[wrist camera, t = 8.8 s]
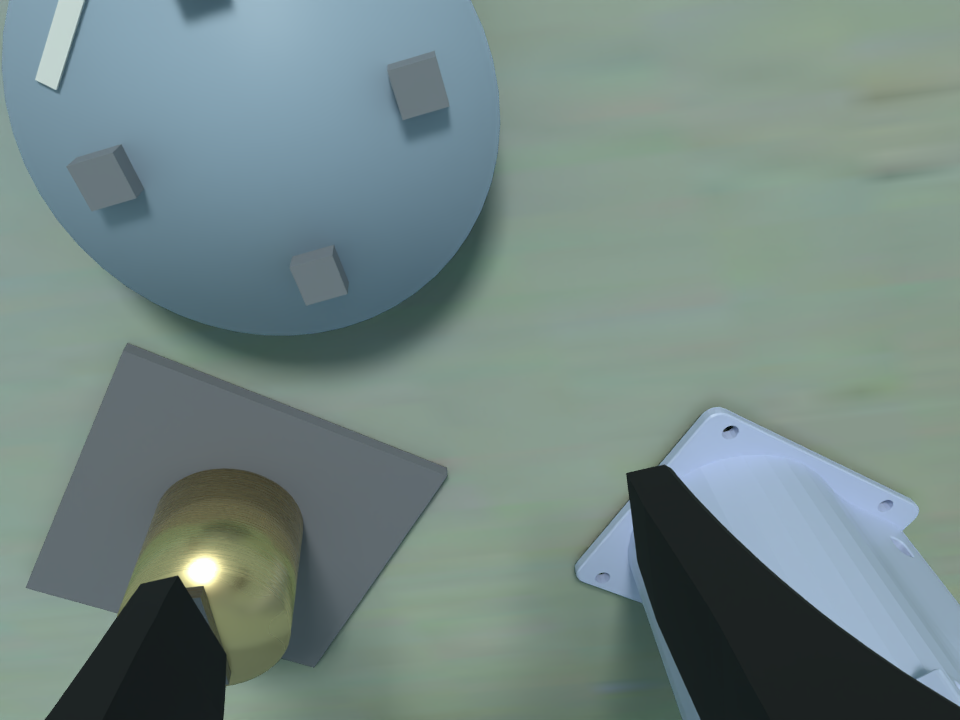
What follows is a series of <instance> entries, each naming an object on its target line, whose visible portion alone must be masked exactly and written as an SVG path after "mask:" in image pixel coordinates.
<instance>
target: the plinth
mask: <svg viewBox="0 0 960 720" xmlns="http://www.w3.org/2000/svg"><path fill="white" fill-rule="evenodd" d="M2 73H3V82H4V92H5V101H6V105H7V110H8V114H9V118H10V122H11V127H12V131H13V134H14V137H15V140H16V142H17V145H18V148H19V150H20V153H21V156H22V158H23V161H24V164H25V166H26V168H27V170H28V172H29V174H30V176H31V178H32V179H33V181H34V183H35V185H36V187H37V189H38V191H39V193H40V195H41V196H42V198H43V199H44V201H45V202H46V204H47V205H48V207H49V208H50V210H51V211H52V213H53V214H54V216H55V217H56V218H57V220H58V221H59V223H60V224H61V225H62V226H63V227H64V228H65V230H66V231H67V232H68V233H69V234H70V236H71V237H72V238H73V239H74V240H75V241H76V243H77V244H78V245H79V246H80V247H81V248H82V249H83V250H84V251H85V252H86V253H87V254H88V255H89V256H90V257H92V258H93V259H94V260H95V261H96V262H97V263H98V264H99V265H100V266H101V267H102V268H103V269H105V270H106V271H107V272H109V273H110V274H111V275H112V276H114V277H115V278H116V279H118V280H119V281H120V282H122V283H123V284H124V285H126V286H127V287H128V288H130V289H132V290H133V291H135V292H137V293H138V294H140V295H142V296H143V297H145V298H146V299H148V300H150V301H151V302H153V303H155V304H157V305H159V306H161V307H164V308H166V309H168V310H170V311H172V312H174V313H176V314H178V315H180V316H183V317H186V318H189V319H192V320H195V321H198V322H200V323H203V324H206V325H209V326H214V327H218V328H222V329H226V330H231V331H235V332H242V333H250V334H258V335H279V336H293V335H304V334H314V333H321V332H326V331H330V330H335V329H339V328H344V327H347V326H350V325H353V324H356V323H359V322H362V321H365V320H368V319H370V318H372V317H374V316H376V315H379V314H381V313H383V312H385V311H387V310H389V309H391V308H393V307H395V306H396V305H398V304H399V303H401V302H402V301H404V300H405V299H407V298H408V297H410V296H412V295H413V294H415V293H416V292H417V291H418V290H420V289H421V288H422V287H423V286H424V285H425V284H427V283H428V282H429V281H430V280H431V279H433V278H434V277H435V276H436V275H437V274H438V273H439V272H440V271H441V269H442V268H443V267H444V266H445V265H446V264H447V263H448V262H449V261H450V260H451V258H452V257H453V256H454V255H455V253H456V252H457V251H458V249H459V248H460V246H461V245H462V243H463V242H464V240H465V239H466V238H467V236H468V235H469V233H470V231H471V229H472V227H473V225H474V223H475V222H476V220H477V218H478V216H479V214H480V212H481V210H482V207H483V205H484V202H485V199H486V196H487V193H488V191H489V188H490V185H491V182H492V178H493V173H494V168H495V164H496V159H497V154H498V144H499V132H500V109H499V91H498V85H497V80H496V74H495V68H494V63H493V58H492V55H491V52H490V49H489V45H488V42H487V39H486V36H485V32H484V29H483V27H482V24H481V22H480V20H479V18H478V16H477V13H476V11H475V9H474V7H473V5H472V2H471V0H9V5H8V10H7V16H6V21H5V26H4V31H3V52H2Z"/></svg>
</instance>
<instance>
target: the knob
mask: <svg viewBox="0 0 960 720" xmlns="http://www.w3.org/2000/svg"><path fill="white" fill-rule="evenodd" d="M302 535H303V518H302V514H301V511H300V509H299V507H298V505H297V503H296V502H295V500H294V499H293V497H292V496H291V495H290V494H289V493H288V492H287V491H286V490H285V489H284V488H282V487H281V486H280V485H278V484H277V483H275V482H274V481H272V480H270V479H268V478H266V477H264V476H261V475H259V474H256V473H253V472H249V471H245V470H239V469H228V468H222V469H210V470H204V471H201V472H197V473H194V474H191V475H189V476H186V477H185V478H183V479H181V480H179V481H178V482H176V483H175V484H173V485H172V486H171V487H170V488H169V489H168V490H167V491H166V492H165V493H164V495H163V496H162V497H161V499H160V501H159V503H158V505H157V508H156V510H155V513H154V516H153V518H152V521H151V524H150V527H149V529H148V532H147V535H146V538H145V540H144V543H143V546H142V549H141V551H140V554H139V557H138V560H137V562H136V565H135V568H134V571H133V573H132V576H131V579H130V581H129V584H128V587H127V590H126V592H125V595H124V598H123V601H122V603H121V606H120V609H119V612H118V615H119V614H120V612H121V611H122V609H123V608H124V606H125V605H126V604H127V602H128V601H129V599H130V598H131V597H132V595H133V594H134V592H135V591H136V590H137V588H138V587H139V586H140V584H142V583H147V582H151V581H155V580H160V579H164V578H168V577H173V576H177V575H178V576H179V577H180V579H181V581H182V582H183V584H184V586H185V587H186V589H187V591H188V592H189V594H190V595H191V597H192V599H193V600H194V602H195V604H196V605H197V607H198V609H199V610H200V612H201V613H202V615H203V617H204V618H205V620H206V622H207V623H208V625H209V626H210V628H211V630H212V631H213V633H214V635H215V636H216V638H217V640H218V641H219V643H220V644H221V646H222V648H223V649H224V651H225V653H226V654H227V661H226V686H230V685H235V684H238V683H242V682H245V681H248V680H251V679H253V678H255V677H257V676H259V675H261V674H263V673H264V672H266V671H268V670H269V669H270V668H271V667H273V666H274V665H275V664H276V663H277V662H278V661H279V660H280V659H281V657H282V656H283V654H284V653H285V651H286V649H287V647H288V645H289V640H290V635H291V627H292V619H293V610H294V602H295V594H296V585H297V577H298V569H299V560H300V552H301V544H302ZM118 615H117V617H118Z"/></svg>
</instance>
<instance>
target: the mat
mask: <svg viewBox="0 0 960 720" xmlns="http://www.w3.org/2000/svg"><path fill="white" fill-rule="evenodd" d="M222 468H228V469H239V470H245V471H249V472H253V473H256V474H259V475H261V476H264V477H266V478H268V479H270V480H272V481H274V482H275V483H277V484H278V485H280V486H281V487H282V488H284V489H285V490H286V491H287V492H288V493H289V494H290V495H291V496H292V497H293V499H294V500H295V502H296V503H297V505H298V507H299V509H300V511H301V514H302V518H303V535H302V544H301V552H300V560H299V569H298V577H297V585H296V594H295V602H294V610H293V619H292V627H291V635H290V640H289V645H288V647H287V649H286V651H285V653H284V654H283V656H282V657H281V659H285V660H289V661H292V662H296V663H299V664H303V665H307V666H310V667H315V666H316V664H317V663H318V662H319V660H320V659H321V657H322V656H323V654H324V653H325V651H326V650H327V649H328V647H329V646H330V644H331V643H332V641H333V640H334V638H335V637H336V636H337V634H338V633H339V631H340V630H341V628H342V627H343V625H344V624H345V623H346V621H347V620H348V618H349V617H350V615H351V614H352V613H353V611H354V610H355V608H356V607H357V605H358V604H359V602H360V601H361V600H362V598H363V597H364V595H365V594H366V592H367V591H368V589H369V588H370V587H371V585H372V584H373V582H374V581H375V579H376V578H377V576H378V575H379V574H380V572H381V571H382V569H383V568H384V566H385V565H386V564H387V562H388V561H389V559H390V558H391V556H392V555H393V553H394V552H395V551H396V549H397V548H398V546H399V545H400V543H401V542H402V540H403V539H404V538H405V536H406V535H407V533H408V532H409V530H410V529H411V527H412V526H413V525H414V523H415V522H416V520H417V519H418V517H419V516H420V515H421V513H422V512H423V510H424V509H425V507H426V506H427V504H428V503H429V502H430V500H431V499H432V497H433V496H434V494H435V493H436V491H437V490H438V489H439V487H440V486H441V484H442V483H443V481H444V480H445V479H446V477H447V468H446V467H443V466H441V465H438V464H436V463H433V462H431V461H428V460H426V459H423V458H420V457H418V456H415V455H413V454H410V453H408V452H405V451H403V450H400V449H397V448H395V447H392V446H390V445H387V444H385V443H382V442H379V441H377V440H374V439H372V438H369V437H367V436H364V435H362V434H359V433H356V432H354V431H351V430H349V429H346V428H344V427H341V426H339V425H336V424H333V423H331V422H328V421H326V420H323V419H321V418H318V417H315V416H313V415H310V414H308V413H305V412H303V411H300V410H298V409H295V408H292V407H290V406H287V405H285V404H282V403H280V402H277V401H275V400H272V399H269V398H267V397H264V396H262V395H259V394H257V393H254V392H251V391H249V390H246V389H244V388H241V387H239V386H236V385H234V384H231V383H228V382H226V381H223V380H221V379H218V378H216V377H213V376H211V375H208V374H205V373H203V372H200V371H198V370H195V369H193V368H190V367H187V366H185V365H182V364H180V363H177V362H175V361H172V360H170V359H167V358H164V357H162V356H159V355H157V354H154V353H152V352H149V351H147V350H144V349H141V348H139V347H136V346H134V345H131V344H129V343H127V345H126V347H125V348H124V350H123V352H122V355H121V357H120V360H119V362H118V365H117V367H116V369H115V372H114V374H113V377H112V379H111V382H110V384H109V386H108V389H107V391H106V394H105V396H104V399H103V401H102V404H101V406H100V408H99V411H98V413H97V416H96V418H95V421H94V423H93V425H92V428H91V430H90V433H89V435H88V438H87V440H86V442H85V445H84V447H83V450H82V452H81V455H80V457H79V459H78V462H77V464H76V467H75V469H74V472H73V474H72V476H71V479H70V481H69V484H68V486H67V489H66V491H65V493H64V496H63V498H62V501H61V503H60V506H59V508H58V510H57V513H56V515H55V518H54V520H53V523H52V525H51V527H50V530H49V532H48V535H47V537H46V540H45V542H44V544H43V547H42V549H41V552H40V554H39V557H38V559H37V561H36V564H35V566H34V569H33V571H32V574H31V576H30V578H29V581H28V583H27V586H26V588H28V589H32V590H35V591H39V592H42V593H46V594H50V595H53V596H57V597H60V598H64V599H68V600H71V601H75V602H79V603H82V604H86V605H89V606H93V607H97V608H100V609H104V610H108V611H111V612H115V613H118V612H119V609H120V606H121V603H122V601H123V598H124V595H125V592H126V590H127V587H128V584H129V581H130V579H131V576H132V573H133V571H134V568H135V565H136V562H137V560H138V557H139V554H140V551H141V549H142V546H143V543H144V540H145V538H146V535H147V532H148V529H149V527H150V524H151V521H152V518H153V516H154V513H155V510H156V508H157V505H158V503H159V501H160V499H161V497H162V496H163V495H164V493H165V492H166V491H167V490H168V489H169V488H170V487H171V486H172V485H173V484H175V483H176V482H178V481H179V480H181V479H183V478H185V477H186V476H189V475H191V474H194V473H197V472H201V471H204V470H210V469H222Z"/></svg>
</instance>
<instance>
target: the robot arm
mask: <svg viewBox="0 0 960 720" xmlns="http://www.w3.org/2000/svg"><path fill="white" fill-rule="evenodd" d="M728 426H733V428H732V429H730V430H729V431H725V432H723V430H724V429H725V428H726V427H728ZM626 475H627V483H628V491H629V501H628V502H627V504H626V505H625V506H624V507H623V508H622V509H621V511H620V512H619V513H618V514H617V515H616V517H615V518H614V519H613V520H612V521H611V522H610V524H609V525H608V526H607V527H606V528H605V530H604V531H603V532H602V533H601V534H600V535H599V537H598V538H597V539H596V540H595V541H594V543H593V544H592V545H591V546H590V547H589V548H588V550H587V551H586V552H585V553H584V554H583V556H582V557H581V558H580V559H579V560H578V561H577V563H576V565H575V571H576V575H577V577H578V579H579V580H580V581H582V582H584V583H587V584H590V585H593V586H596V587H598V588H601V589H604V590H607V591H610V592H612V593H615V594H618V595H621V596H623V597H626V598H629V599H632V600H635V601H637V602H640V603H643V606H644V609H645V611H646V614H647V617H648V620H649V623H650V626H651V629H652V632H653V635H654V638H655V641H656V644H657V647H658V650H659V652H660V655H661V658H662V661H663V664H664V667H665V670H666V673H667V676H668V679H669V682H670V685H671V688H672V690H673V693H674V696H675V699H676V702H677V705H678V708H679V711H680V714H681V717H682V720H960V605H959V603H958V602H957V601H956V599H955V598H954V597H953V596H952V594H951V593H950V592H949V590H948V589H947V588H946V587H945V585H944V584H943V583H942V581H941V580H940V579H939V578H938V576H937V575H936V574H935V572H934V571H933V570H932V569H931V567H930V566H929V565H928V563H927V562H926V561H925V560H924V558H923V557H922V556H921V554H920V553H919V552H918V551H917V549H916V548H915V547H914V545H913V544H912V543H911V541H910V540H909V539H908V538H907V536H906V535H905V534H904V532H903V531H902V530H904V529H905V528H906V527H907V526H908V525H909V524H910V523H911V522H912V521H913V520H914V519H915V518H916V517H917V515H918V513H919V508H918V506H917V505H916V504H915V502H914V501H913V500H912V499H910V498H908V497H906V496H904V495H902V494H900V493H898V492H896V491H894V490H892V489H890V488H888V487H886V486H884V485H882V484H880V483H877V482H875V481H873V480H871V479H869V478H867V477H865V476H863V475H861V474H859V473H857V472H855V471H853V470H851V469H849V468H847V467H844V466H842V465H840V464H838V463H836V462H834V461H832V460H830V459H828V458H826V457H824V456H822V455H820V454H818V453H816V452H814V451H811V450H809V449H807V448H805V447H803V446H801V445H799V444H797V443H795V442H793V441H791V440H789V439H787V438H785V437H783V436H781V435H778V434H776V433H774V432H772V431H770V430H768V429H766V428H764V427H762V426H760V425H758V424H756V423H754V422H752V421H750V420H748V419H745V418H743V417H741V416H739V415H737V414H735V413H733V412H731V411H729V410H727V409H725V408H721V407H714V408H711V409H708V410H706V411H705V412H704V413H703V414H702V415H701V416H700V417H699V418H698V420H697V421H696V422H695V423H694V424H693V426H692V427H691V428H690V429H689V430H688V431H687V433H686V434H685V435H684V436H683V437H682V439H681V440H680V441H679V442H678V443H677V444H676V446H675V447H674V448H673V449H672V450H671V452H670V453H669V454H668V455H667V456H666V457H665V459H664V460H663V461H662V462H661V463H660V465H659V466H655V467H651V468H647V469H642V470H638V471H634V472H629V473H626ZM881 502H882V503H881ZM603 572H604V574H600V575H598V574H599V573H603ZM226 661H227V654H226V653H225V651H224V649H223V648H222V646H221V644H220V643H219V641H218V640H217V638H216V636H215V635H214V633H213V631H212V630H211V628H210V626H209V625H208V623H207V622H206V620H205V618H204V617H203V615H202V613H201V612H200V610H199V609H198V607H197V605H196V604H195V602H194V600H193V599H192V597H191V595H190V594H189V592H188V591H187V589H186V587H185V586H184V584H183V582H182V581H181V579H180V577H179V576H178V575H177V576H173V577H168V578H164V579H160V580H155V581H151V582H147V583H142V584H140V586H139V587H138V588H137V590H136V591H135V592H134V594H133V595H132V597H131V598H130V599H129V601H128V602H127V604H126V605H125V606H124V608H123V609H122V611H121V612H120V614H119V615H118V617H117V618H116V619H115V621H114V622H113V624H112V625H111V627H110V628H109V630H108V631H107V632H106V634H105V635H104V637H103V638H102V640H101V641H100V643H99V644H98V646H97V647H96V648H95V650H94V651H93V653H92V654H91V656H90V657H89V659H88V660H87V661H86V663H85V664H84V666H83V667H82V668H81V670H80V671H79V673H78V674H77V676H76V677H75V678H74V680H73V681H72V683H71V684H70V685H69V687H68V688H67V690H66V691H65V692H64V694H63V695H62V697H61V698H60V700H59V701H58V702H57V704H56V705H55V707H54V708H53V709H52V711H51V712H50V713H49V715H48V716H47V717H46V719H45V720H223V717H224V702H225V686H226Z"/></svg>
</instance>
